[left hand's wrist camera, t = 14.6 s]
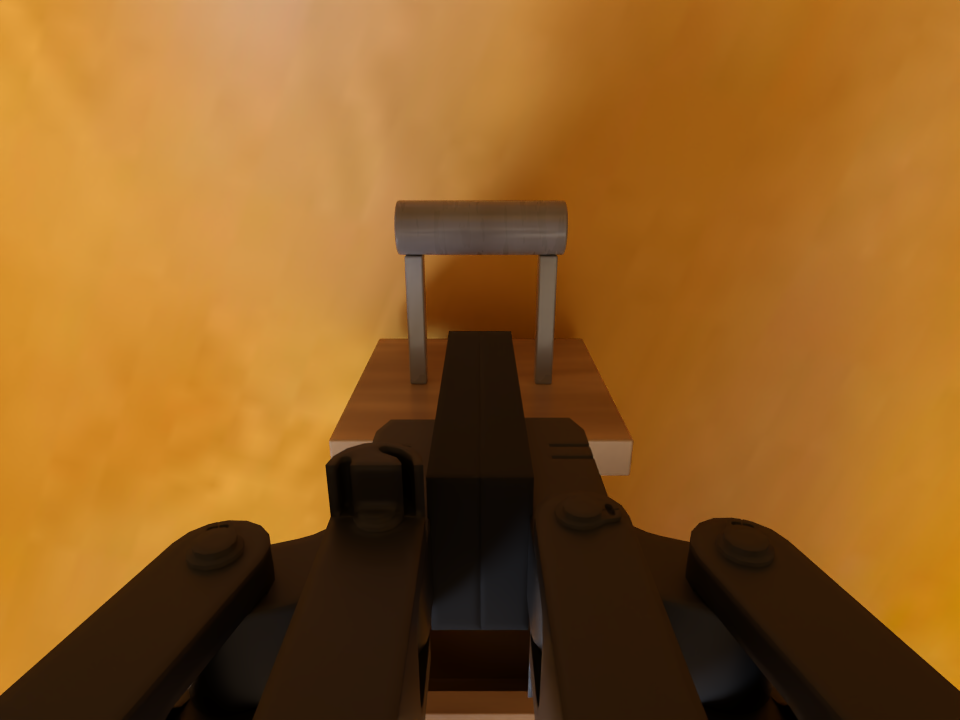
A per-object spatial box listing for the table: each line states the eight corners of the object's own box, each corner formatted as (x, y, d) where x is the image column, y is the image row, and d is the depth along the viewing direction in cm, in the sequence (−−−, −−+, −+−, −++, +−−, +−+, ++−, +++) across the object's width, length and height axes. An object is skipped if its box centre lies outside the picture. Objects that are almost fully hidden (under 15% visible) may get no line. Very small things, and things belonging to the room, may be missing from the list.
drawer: (369, 188, 23) (305, 218, 15) (592, 188, 23) (657, 218, 15) (400, 671, 32) (371, 864, 24) (560, 671, 32) (590, 864, 24)
